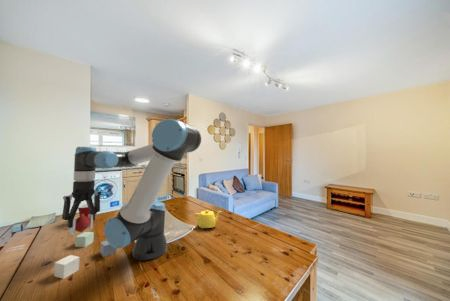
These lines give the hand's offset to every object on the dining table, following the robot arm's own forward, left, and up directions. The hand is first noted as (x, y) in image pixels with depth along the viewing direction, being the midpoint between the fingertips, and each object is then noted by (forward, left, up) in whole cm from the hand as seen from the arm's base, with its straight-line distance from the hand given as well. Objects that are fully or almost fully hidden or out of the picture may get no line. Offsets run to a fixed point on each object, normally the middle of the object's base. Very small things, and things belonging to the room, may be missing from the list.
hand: (81, 231), depth 75 cm
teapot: (-35, -54, -11) cm, 65 cm away
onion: (0, 0, 0) cm, 0 cm away
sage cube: (+9, -6, -11) cm, 15 cm away
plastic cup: (+39, -21, -11) cm, 46 cm away
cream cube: (-9, +8, -11) cm, 16 cm away
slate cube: (-9, -7, -11) cm, 16 cm away
